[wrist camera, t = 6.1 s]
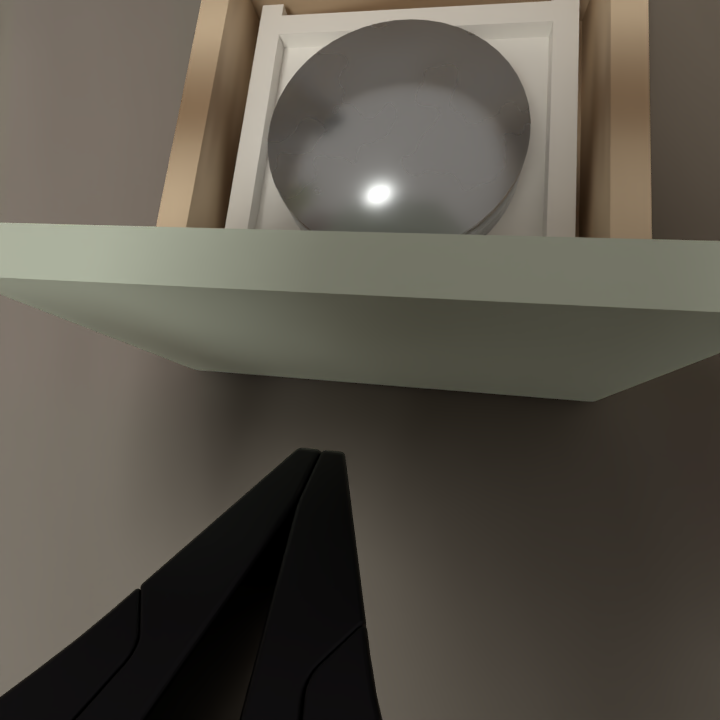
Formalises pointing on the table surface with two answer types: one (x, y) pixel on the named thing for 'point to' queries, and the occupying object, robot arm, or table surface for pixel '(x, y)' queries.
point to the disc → (401, 133)
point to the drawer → (393, 258)
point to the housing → (244, 8)
